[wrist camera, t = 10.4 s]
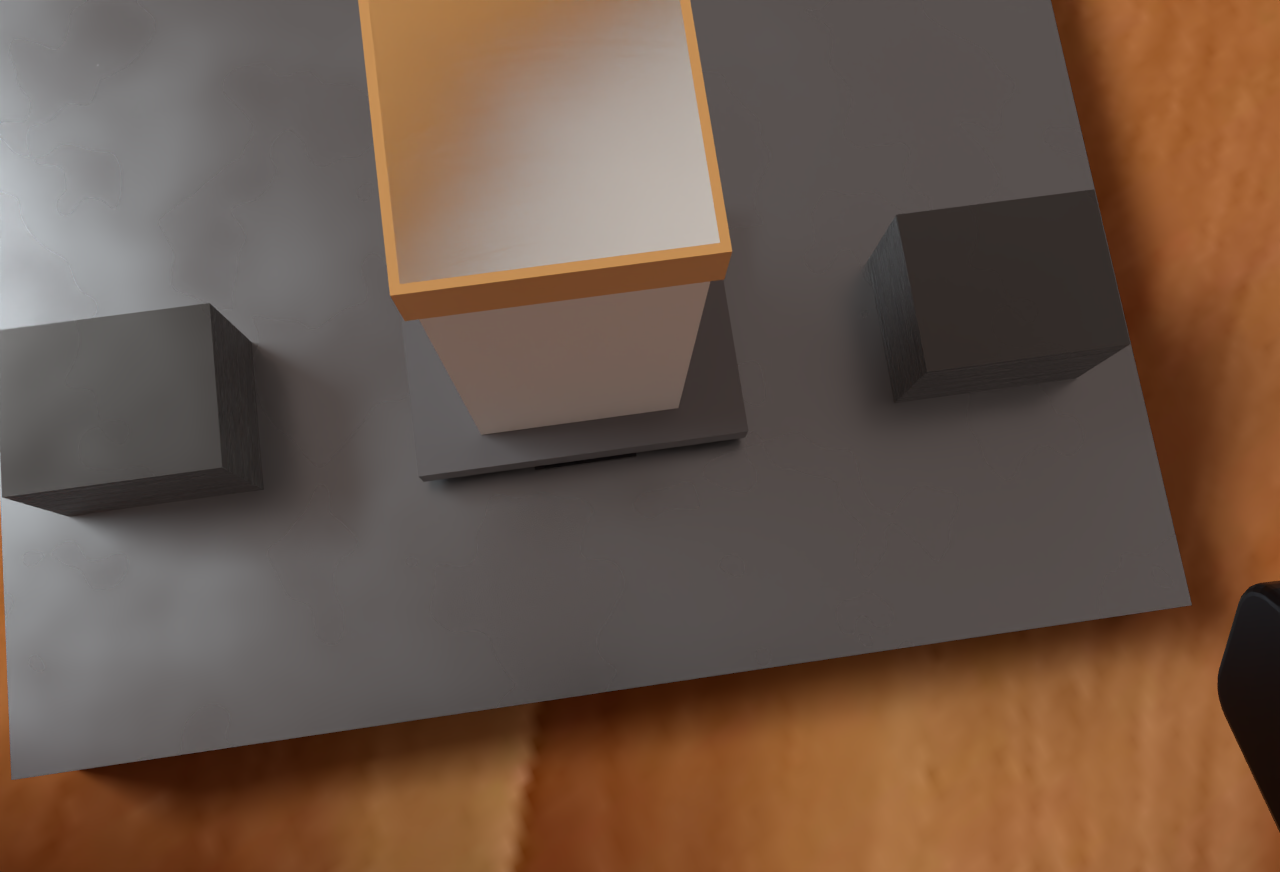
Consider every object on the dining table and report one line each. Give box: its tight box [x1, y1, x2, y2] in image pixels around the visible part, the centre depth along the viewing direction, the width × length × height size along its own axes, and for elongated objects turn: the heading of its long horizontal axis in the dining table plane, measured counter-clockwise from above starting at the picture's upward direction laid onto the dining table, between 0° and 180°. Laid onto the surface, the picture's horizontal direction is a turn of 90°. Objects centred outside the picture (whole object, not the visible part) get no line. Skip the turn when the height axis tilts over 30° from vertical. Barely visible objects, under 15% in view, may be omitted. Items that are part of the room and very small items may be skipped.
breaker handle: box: [358, 0, 748, 482], centre depth 15 cm, size 4×5×8 cm
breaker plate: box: [0, 0, 1192, 780], centre depth 19 cm, size 15×18×4 cm
